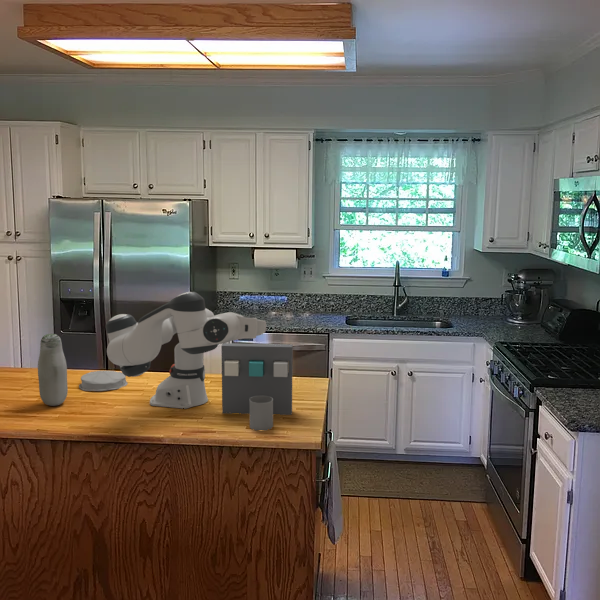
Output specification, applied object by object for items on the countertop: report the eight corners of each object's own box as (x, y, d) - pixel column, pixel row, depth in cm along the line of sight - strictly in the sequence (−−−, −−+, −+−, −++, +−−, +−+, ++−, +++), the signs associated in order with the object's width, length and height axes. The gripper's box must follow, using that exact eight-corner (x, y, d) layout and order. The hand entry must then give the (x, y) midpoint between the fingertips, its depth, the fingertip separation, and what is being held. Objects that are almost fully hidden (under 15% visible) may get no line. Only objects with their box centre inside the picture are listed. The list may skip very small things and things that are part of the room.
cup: (249, 422, 230) (249, 395, 229) (272, 421, 231) (272, 395, 229) (249, 431, 222) (249, 403, 220) (273, 430, 223) (273, 403, 221)
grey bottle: (35, 404, 246) (31, 334, 242) (60, 398, 254) (57, 329, 249) (47, 411, 240) (43, 338, 235) (73, 404, 247) (69, 334, 242)
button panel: (222, 413, 239) (221, 345, 235) (223, 409, 243) (223, 343, 239) (291, 414, 238) (292, 347, 234) (292, 411, 242) (292, 344, 238)
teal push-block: (249, 376, 233) (249, 363, 232) (250, 371, 239) (250, 358, 238) (262, 376, 233) (262, 363, 232) (264, 371, 239) (264, 358, 238)
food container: (92, 378, 283) (90, 363, 282) (134, 379, 280) (134, 364, 279) (70, 392, 264) (68, 377, 262) (115, 394, 261) (114, 378, 260)
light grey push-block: (273, 376, 233) (273, 363, 232) (274, 372, 239) (274, 359, 238) (287, 377, 233) (287, 363, 232) (288, 372, 239) (288, 359, 238)
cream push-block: (224, 375, 234) (224, 362, 233) (227, 371, 239) (226, 358, 239) (238, 376, 233) (238, 362, 233) (240, 371, 239) (240, 358, 238)
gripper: (196, 334, 200) (208, 330, 214) (260, 339, 197) (268, 334, 211) (197, 314, 200) (209, 311, 213) (261, 318, 197) (269, 315, 210)
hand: (239, 323), depth 212 cm, fingers open, 8 cm apart
